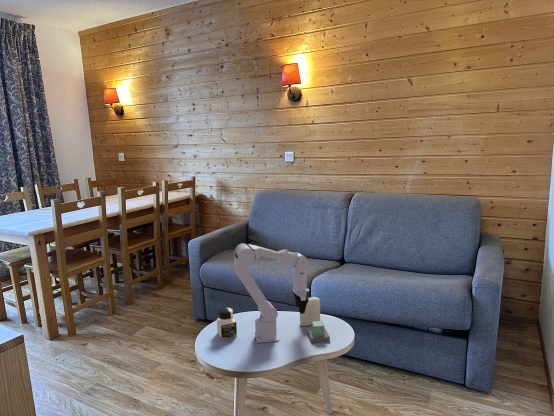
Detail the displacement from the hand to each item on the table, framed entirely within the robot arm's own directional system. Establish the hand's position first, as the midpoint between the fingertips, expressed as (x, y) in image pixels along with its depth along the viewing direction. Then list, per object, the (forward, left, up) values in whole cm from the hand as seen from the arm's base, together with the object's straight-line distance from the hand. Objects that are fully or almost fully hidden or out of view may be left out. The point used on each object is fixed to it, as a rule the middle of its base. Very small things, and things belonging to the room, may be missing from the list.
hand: (300, 309), depth 170 cm
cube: (+6, -7, -8) cm, 13 cm away
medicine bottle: (-33, +3, -11) cm, 35 cm away
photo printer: (+6, +7, -11) cm, 14 cm away
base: (+6, -7, -10) cm, 14 cm away
